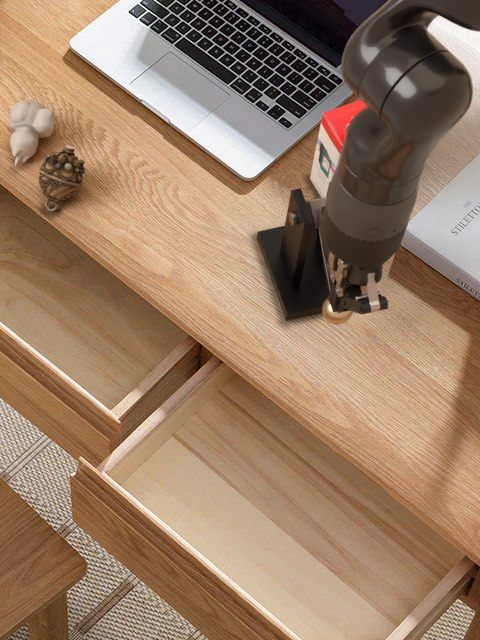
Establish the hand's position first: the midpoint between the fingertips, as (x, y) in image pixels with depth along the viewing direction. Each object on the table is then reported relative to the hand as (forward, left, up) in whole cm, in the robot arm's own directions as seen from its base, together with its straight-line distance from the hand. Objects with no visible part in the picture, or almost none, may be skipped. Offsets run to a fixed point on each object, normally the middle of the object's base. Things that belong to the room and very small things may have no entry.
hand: (340, 304), depth 125 cm
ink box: (-9, -19, -7) cm, 22 cm away
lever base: (0, -9, -7) cm, 11 cm away
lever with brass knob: (0, -5, 0) cm, 5 cm away
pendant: (+26, -28, -5) cm, 38 cm away
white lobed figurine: (+24, -37, -4) cm, 44 cm away
